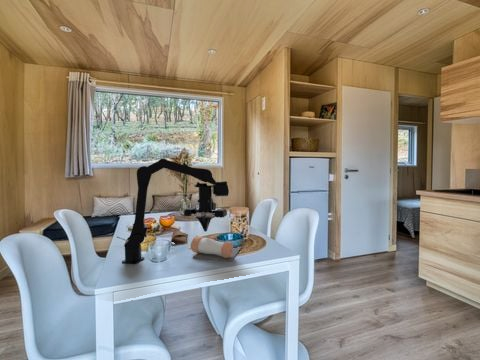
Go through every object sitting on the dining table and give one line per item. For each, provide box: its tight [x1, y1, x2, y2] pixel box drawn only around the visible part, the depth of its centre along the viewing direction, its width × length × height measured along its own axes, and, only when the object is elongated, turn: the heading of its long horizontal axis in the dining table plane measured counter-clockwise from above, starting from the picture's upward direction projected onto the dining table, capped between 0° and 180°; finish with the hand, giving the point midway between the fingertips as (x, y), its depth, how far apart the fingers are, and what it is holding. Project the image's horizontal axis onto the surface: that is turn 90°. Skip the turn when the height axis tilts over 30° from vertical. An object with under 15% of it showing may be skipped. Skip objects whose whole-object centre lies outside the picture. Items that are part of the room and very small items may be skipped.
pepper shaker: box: [190, 235, 234, 258], centre depth 113 cm, size 7×7×19 cm
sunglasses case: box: [170, 229, 189, 245], centre depth 139 cm, size 18×7×7 cm
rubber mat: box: [193, 246, 243, 262], centre depth 118 cm, size 18×17×1 cm
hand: (205, 231), depth 117 cm, fingers closed
